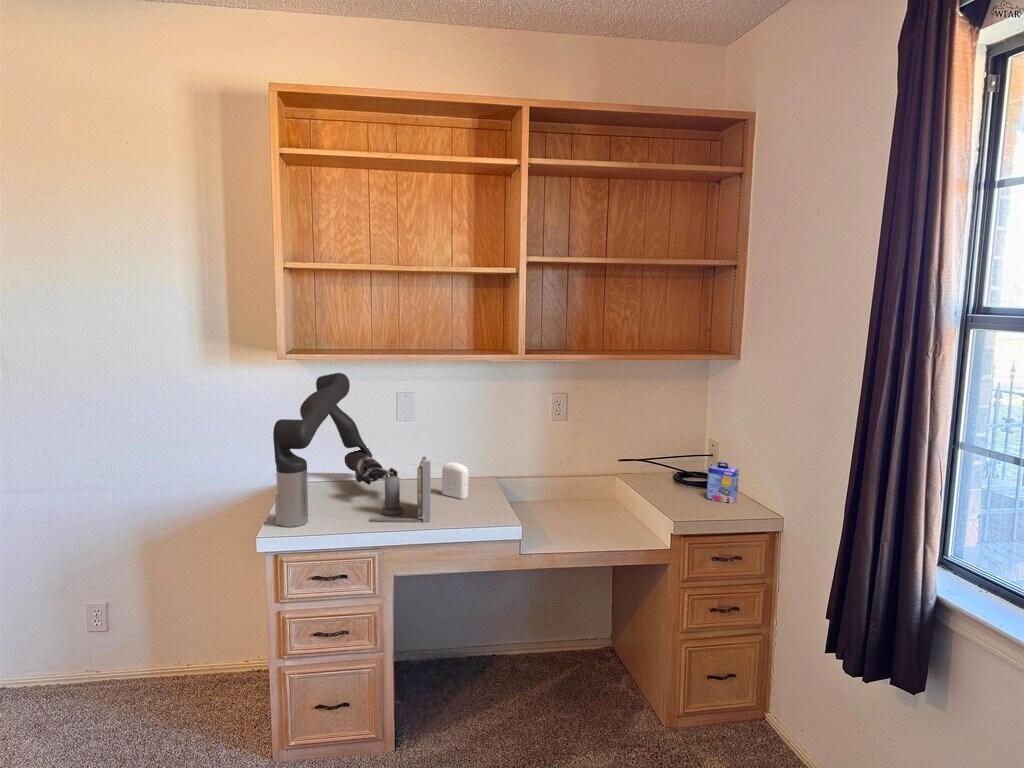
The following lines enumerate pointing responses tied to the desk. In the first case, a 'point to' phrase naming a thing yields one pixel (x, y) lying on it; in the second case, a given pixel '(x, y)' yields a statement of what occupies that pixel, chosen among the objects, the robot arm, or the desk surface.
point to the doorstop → (392, 497)
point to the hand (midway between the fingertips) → (381, 480)
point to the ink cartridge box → (722, 483)
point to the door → (420, 488)
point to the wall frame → (425, 499)
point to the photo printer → (455, 480)
